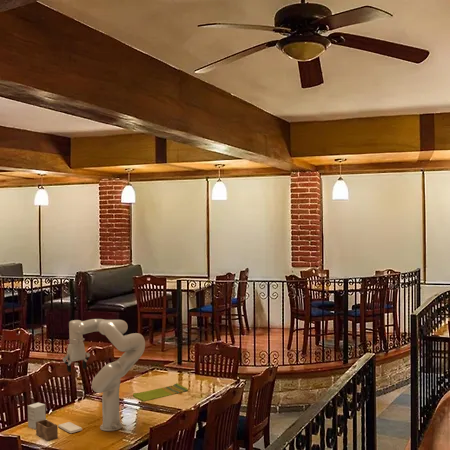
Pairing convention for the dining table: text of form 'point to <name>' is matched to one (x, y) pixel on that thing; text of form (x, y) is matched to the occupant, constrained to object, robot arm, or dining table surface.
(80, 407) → the dining table surface
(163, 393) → the dish towel
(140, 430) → the dining table surface
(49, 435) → the crate
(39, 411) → the supplement box
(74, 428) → the lid
